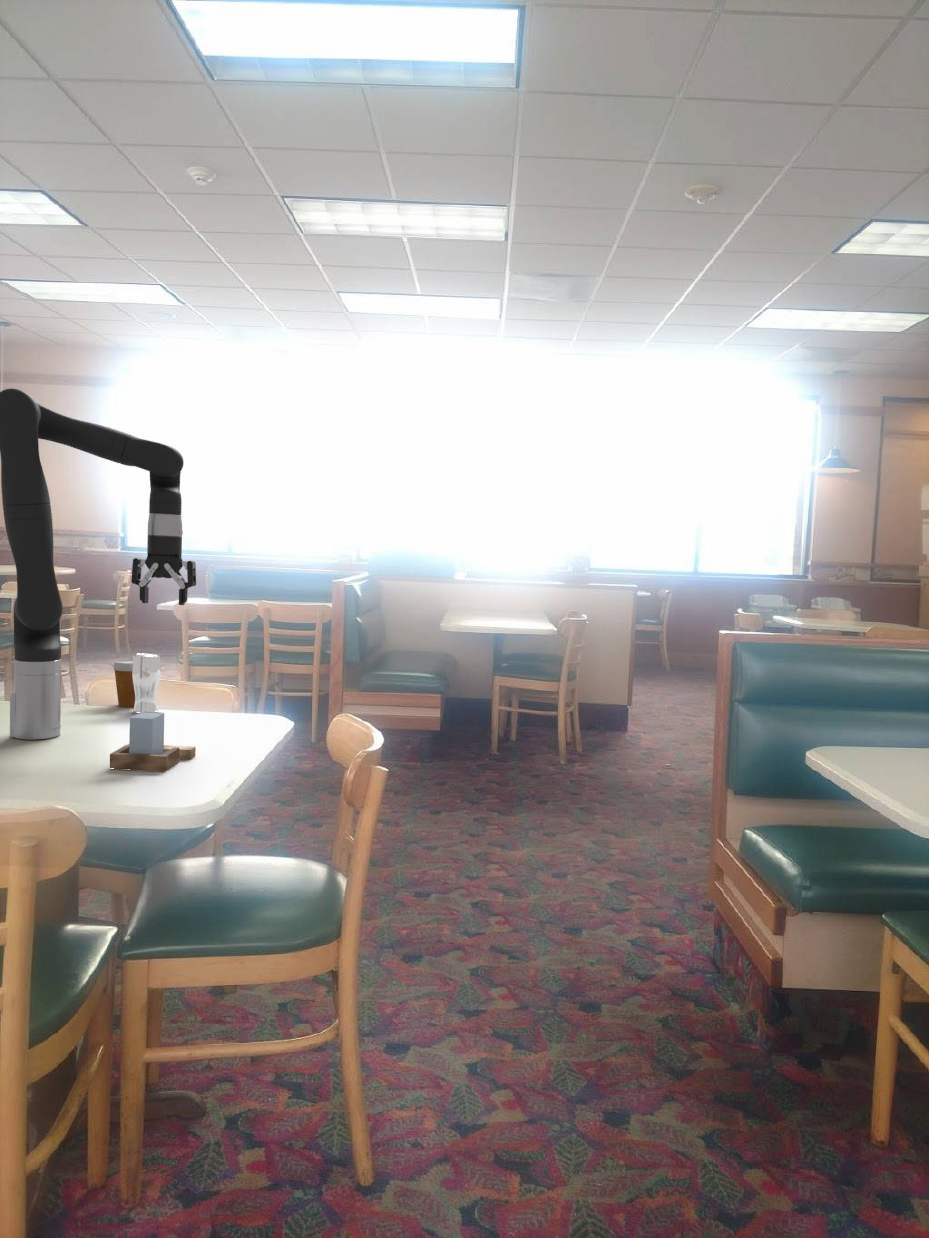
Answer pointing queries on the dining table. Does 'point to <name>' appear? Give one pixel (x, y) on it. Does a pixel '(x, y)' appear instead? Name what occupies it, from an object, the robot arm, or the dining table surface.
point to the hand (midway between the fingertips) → (163, 604)
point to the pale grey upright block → (147, 733)
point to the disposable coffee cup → (124, 682)
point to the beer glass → (146, 681)
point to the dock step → (182, 751)
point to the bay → (143, 760)
